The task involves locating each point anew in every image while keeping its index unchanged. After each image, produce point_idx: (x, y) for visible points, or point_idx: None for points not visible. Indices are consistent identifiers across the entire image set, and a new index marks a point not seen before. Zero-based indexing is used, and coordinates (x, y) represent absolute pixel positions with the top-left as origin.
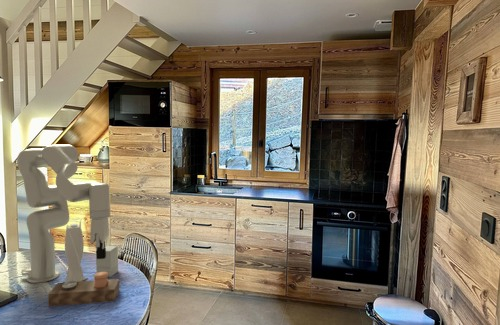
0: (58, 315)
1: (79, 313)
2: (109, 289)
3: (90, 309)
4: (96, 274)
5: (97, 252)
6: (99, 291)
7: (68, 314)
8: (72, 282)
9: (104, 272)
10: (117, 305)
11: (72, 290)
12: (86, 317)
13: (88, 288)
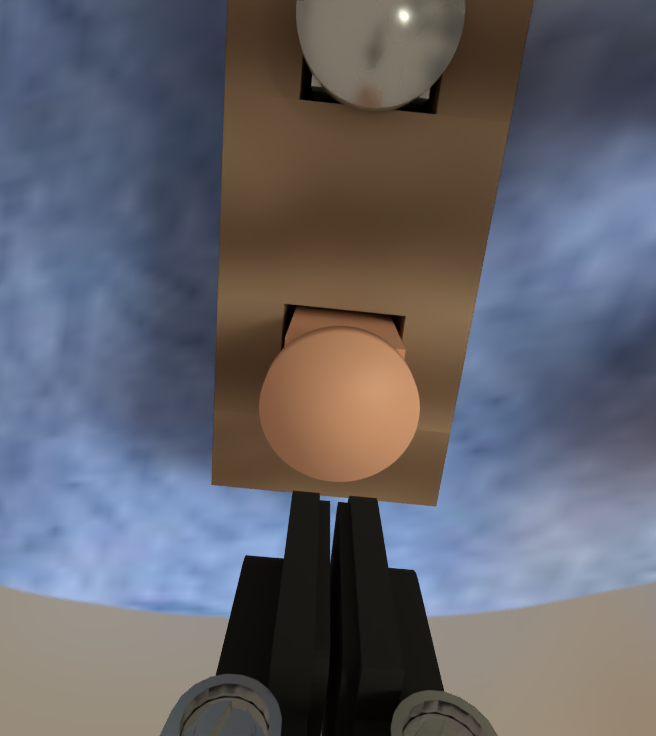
0: (76, 36)
1: (88, 210)
2: (218, 448)
3: (140, 283)
4: (349, 358)
5: (280, 606)
6: (218, 363)
7: (83, 123)
8: (410, 46)
9: (388, 440)
10: (169, 459)
11: (273, 88)
12: (22, 275)
13: (285, 256)
